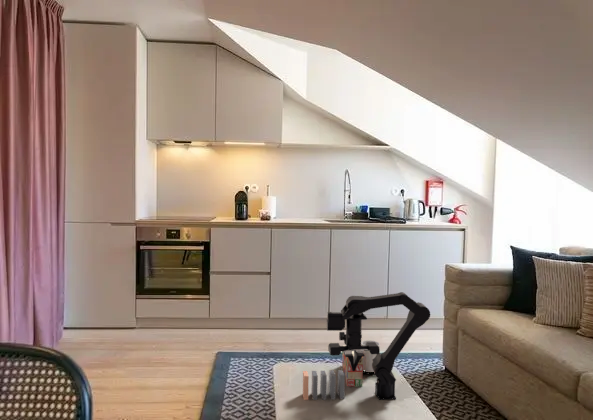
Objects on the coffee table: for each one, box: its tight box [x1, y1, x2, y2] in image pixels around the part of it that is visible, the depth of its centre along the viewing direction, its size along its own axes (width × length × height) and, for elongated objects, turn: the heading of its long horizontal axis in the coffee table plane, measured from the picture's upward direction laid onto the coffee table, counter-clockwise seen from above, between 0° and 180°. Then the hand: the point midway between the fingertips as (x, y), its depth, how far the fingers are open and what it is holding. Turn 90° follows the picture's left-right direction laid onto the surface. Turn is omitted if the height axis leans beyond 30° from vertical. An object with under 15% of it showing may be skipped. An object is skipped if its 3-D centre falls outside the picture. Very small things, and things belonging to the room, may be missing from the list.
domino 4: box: [328, 369, 337, 400], centre depth 172 cm, size 2×5×9 cm, turn 5°
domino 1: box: [302, 370, 309, 401], centre depth 171 cm, size 2×5×9 cm, turn 5°
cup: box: [361, 339, 381, 372], centre depth 196 cm, size 8×8×12 cm
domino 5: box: [337, 369, 346, 400], centre depth 172 cm, size 2×5×9 cm, turn 5°
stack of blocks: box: [341, 351, 364, 387], centre depth 191 cm, size 21×6×12 cm, turn 0°
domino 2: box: [311, 370, 319, 401], centre depth 171 cm, size 2×5×9 cm, turn 5°
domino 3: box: [319, 370, 328, 400], centre depth 171 cm, size 2×5×9 cm, turn 5°
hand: (353, 370), depth 172 cm, fingers closed
